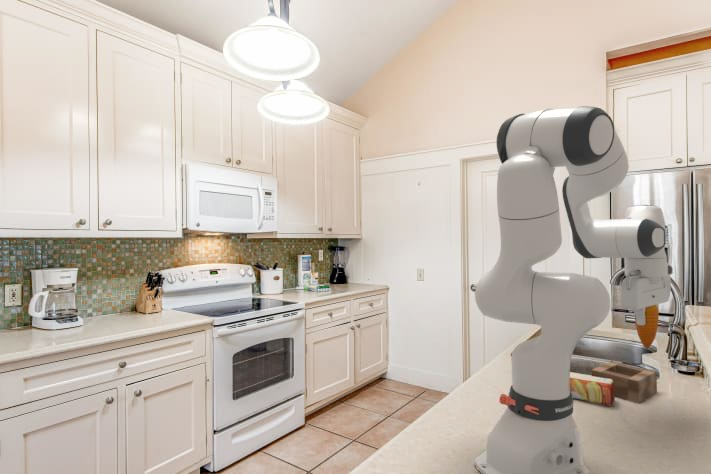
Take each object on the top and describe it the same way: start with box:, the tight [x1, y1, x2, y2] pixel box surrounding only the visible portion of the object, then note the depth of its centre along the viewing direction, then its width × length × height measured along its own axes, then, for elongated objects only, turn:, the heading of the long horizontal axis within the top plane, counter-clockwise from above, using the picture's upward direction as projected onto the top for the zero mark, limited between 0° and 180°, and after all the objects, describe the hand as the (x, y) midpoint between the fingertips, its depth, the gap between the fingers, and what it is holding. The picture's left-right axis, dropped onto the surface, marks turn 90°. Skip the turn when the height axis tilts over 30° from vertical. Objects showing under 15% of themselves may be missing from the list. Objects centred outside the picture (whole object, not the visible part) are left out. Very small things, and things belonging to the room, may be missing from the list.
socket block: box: [591, 361, 658, 404], centre depth 117 cm, size 12×12×6 cm
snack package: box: [570, 372, 616, 407], centre depth 115 cm, size 21×7×7 cm, turn 48°
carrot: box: [634, 295, 660, 349], centre depth 103 cm, size 5×5×15 cm
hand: (646, 323), depth 103 cm, fingers closed on carrot, 4 cm apart
